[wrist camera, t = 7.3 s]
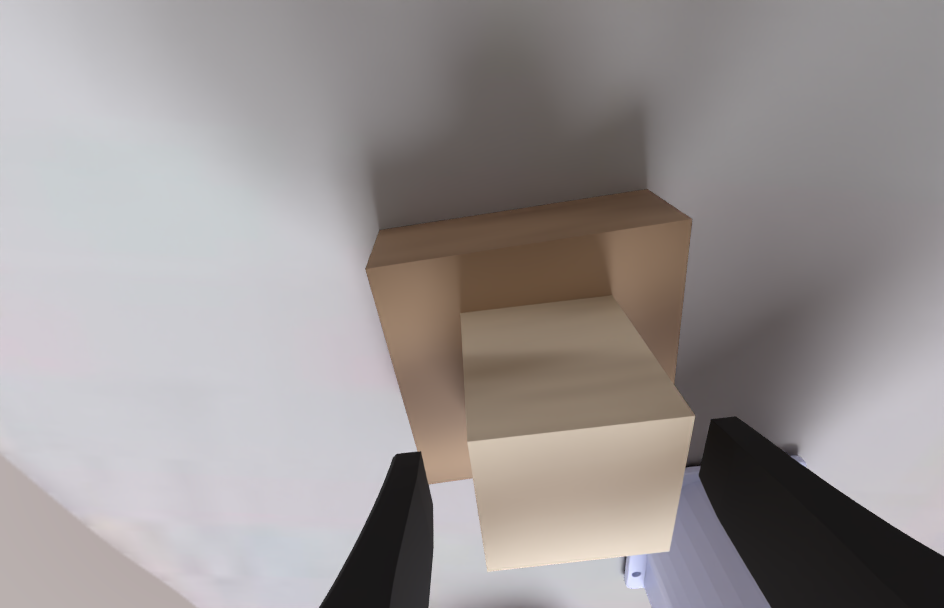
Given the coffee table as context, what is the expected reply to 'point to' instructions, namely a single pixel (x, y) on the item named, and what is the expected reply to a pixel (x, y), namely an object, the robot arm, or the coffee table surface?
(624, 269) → the tan flat block
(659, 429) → the maple cube
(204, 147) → the coffee table surface
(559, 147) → the coffee table surface
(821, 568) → the robot arm
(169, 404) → the coffee table surface
